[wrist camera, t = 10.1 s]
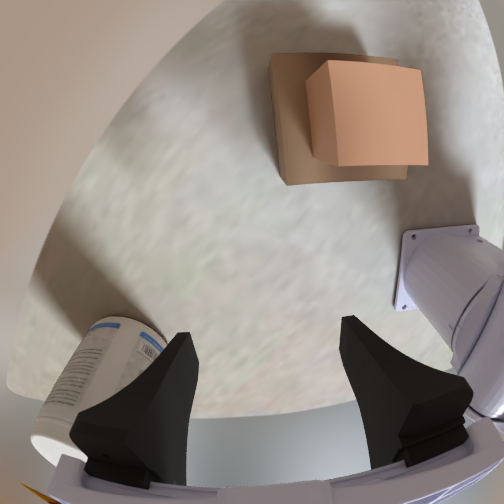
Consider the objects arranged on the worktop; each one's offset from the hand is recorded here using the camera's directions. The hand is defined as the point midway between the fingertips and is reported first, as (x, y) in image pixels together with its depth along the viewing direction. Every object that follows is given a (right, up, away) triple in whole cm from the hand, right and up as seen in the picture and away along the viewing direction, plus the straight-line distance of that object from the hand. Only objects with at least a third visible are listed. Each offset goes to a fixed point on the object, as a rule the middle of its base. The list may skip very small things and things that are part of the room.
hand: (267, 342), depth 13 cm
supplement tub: (-13, -6, +14) cm, 20 cm away
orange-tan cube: (+5, +12, +2) cm, 13 cm away
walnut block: (+5, +14, +5) cm, 15 cm away
